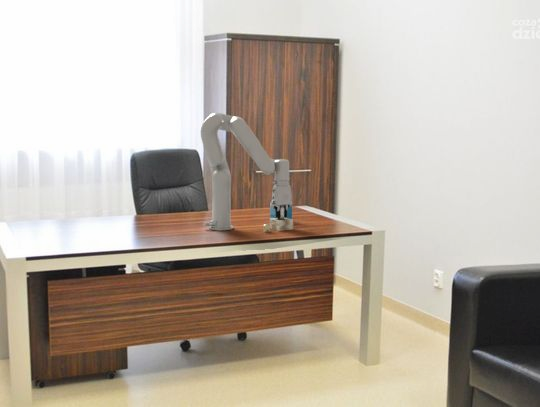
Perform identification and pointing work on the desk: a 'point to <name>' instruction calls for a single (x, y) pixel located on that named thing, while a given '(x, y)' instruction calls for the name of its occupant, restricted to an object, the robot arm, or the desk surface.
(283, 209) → the tall pin
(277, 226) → the pin block
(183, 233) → the desk surface
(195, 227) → the desk surface
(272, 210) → the data package
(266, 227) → the short pin
